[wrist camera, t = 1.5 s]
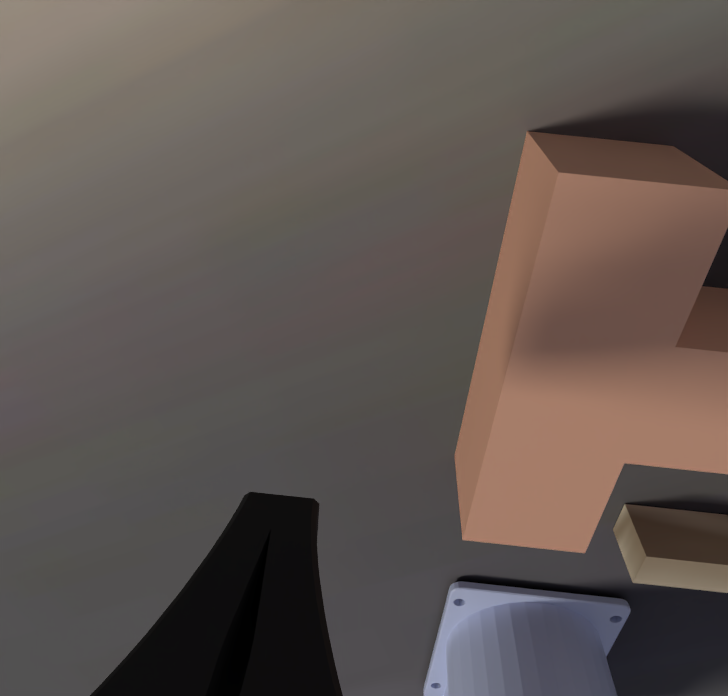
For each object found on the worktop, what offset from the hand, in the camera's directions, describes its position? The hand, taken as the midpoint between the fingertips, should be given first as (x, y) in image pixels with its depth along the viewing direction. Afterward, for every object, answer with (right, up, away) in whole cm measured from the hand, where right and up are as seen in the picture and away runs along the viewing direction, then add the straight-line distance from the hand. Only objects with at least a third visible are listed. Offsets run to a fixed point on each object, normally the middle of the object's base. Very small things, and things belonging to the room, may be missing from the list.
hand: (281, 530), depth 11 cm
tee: (+12, +4, +8) cm, 14 cm away
